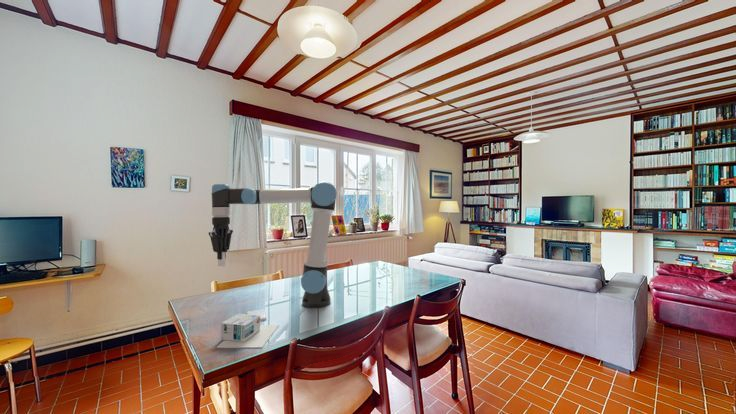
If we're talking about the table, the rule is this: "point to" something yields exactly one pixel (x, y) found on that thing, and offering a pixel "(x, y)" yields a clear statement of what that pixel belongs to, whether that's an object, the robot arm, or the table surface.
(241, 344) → the felt mat
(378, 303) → the table surface
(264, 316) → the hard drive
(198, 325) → the table surface
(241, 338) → the light bulb box
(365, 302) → the table surface
